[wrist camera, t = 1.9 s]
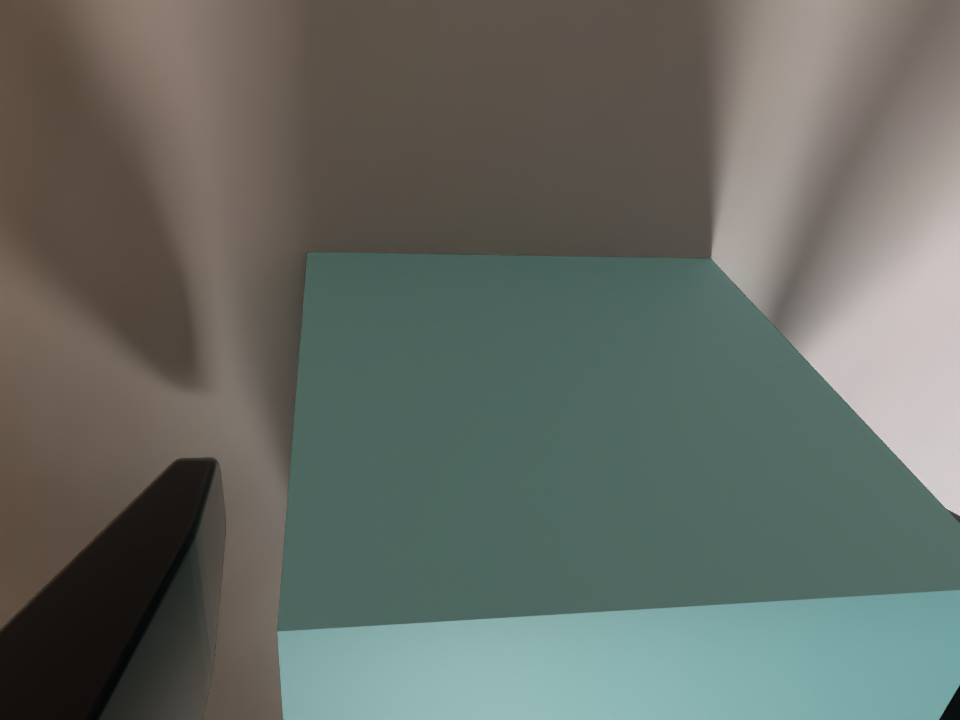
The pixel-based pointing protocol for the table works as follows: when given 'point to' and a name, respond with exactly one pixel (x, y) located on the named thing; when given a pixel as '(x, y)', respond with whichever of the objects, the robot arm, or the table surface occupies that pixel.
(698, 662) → the teal block
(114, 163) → the table surface
